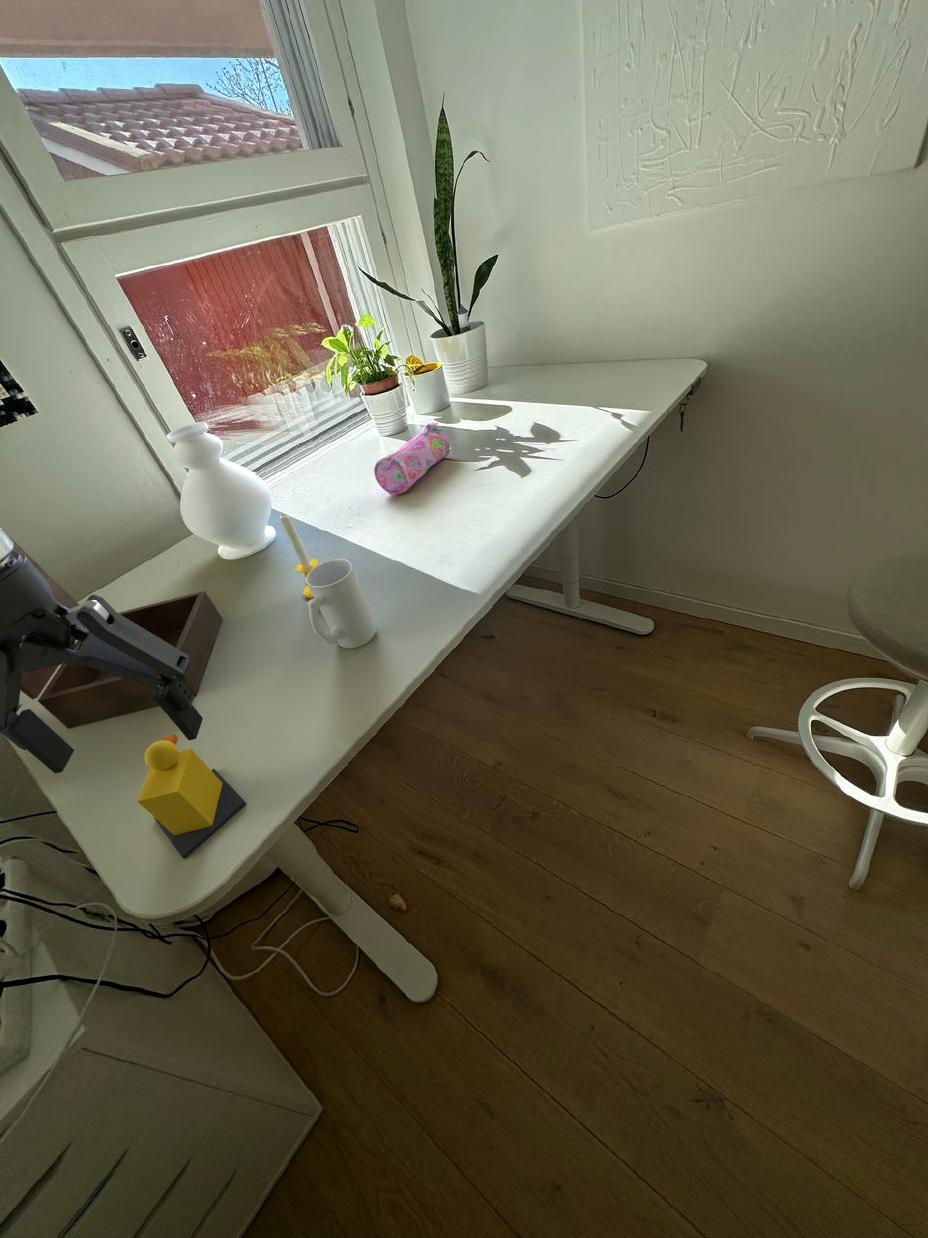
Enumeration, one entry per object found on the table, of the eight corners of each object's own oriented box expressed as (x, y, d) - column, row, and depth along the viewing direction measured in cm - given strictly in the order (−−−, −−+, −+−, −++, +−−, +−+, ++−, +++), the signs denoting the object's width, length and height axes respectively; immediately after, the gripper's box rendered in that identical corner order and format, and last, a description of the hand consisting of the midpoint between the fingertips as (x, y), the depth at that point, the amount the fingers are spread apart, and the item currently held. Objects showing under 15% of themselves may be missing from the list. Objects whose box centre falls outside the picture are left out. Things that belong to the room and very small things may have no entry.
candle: (321, 578, 95) (286, 502, 86) (338, 585, 92) (304, 507, 83) (298, 594, 93) (260, 518, 83) (315, 602, 90) (277, 524, 80)
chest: (223, 618, 92) (204, 590, 88) (196, 696, 77) (172, 666, 73) (114, 646, 92) (91, 619, 88) (67, 729, 77) (37, 701, 73)
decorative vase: (282, 513, 121) (231, 404, 105) (293, 545, 108) (236, 426, 92) (206, 540, 118) (142, 433, 102) (207, 577, 104) (133, 459, 89)
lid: (-16, 511, 74) (-20, 513, 74) (-108, 584, 60) (-114, 587, 60) (91, 616, 87) (87, 618, 87) (37, 698, 73) (32, 699, 73)
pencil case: (426, 455, 131) (417, 419, 125) (457, 455, 126) (449, 419, 120) (377, 496, 117) (365, 458, 112) (410, 499, 113) (398, 460, 107)
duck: (174, 835, 58) (119, 785, 52) (190, 782, 64) (142, 731, 57) (212, 826, 58) (161, 775, 52) (225, 773, 64) (180, 721, 57)
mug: (351, 618, 84) (324, 556, 76) (385, 623, 81) (361, 560, 74) (314, 661, 78) (281, 599, 70) (350, 669, 75) (319, 605, 67)
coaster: (184, 859, 56) (181, 857, 56) (156, 819, 61) (153, 817, 61) (246, 803, 60) (244, 801, 60) (215, 770, 65) (213, 768, 65)
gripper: (142, 511, 42) (256, 689, 55) (-157, 585, 42) (29, 745, 55) (106, 559, 36) (243, 745, 49) (-242, 645, 36) (-11, 808, 49)
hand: (130, 745), depth 52 cm, fingers open, 13 cm apart
